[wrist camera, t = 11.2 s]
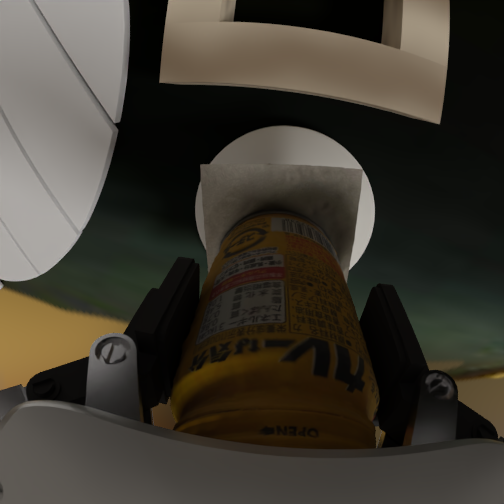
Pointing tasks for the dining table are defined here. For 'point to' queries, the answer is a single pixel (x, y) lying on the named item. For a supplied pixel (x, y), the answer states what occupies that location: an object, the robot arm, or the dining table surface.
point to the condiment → (277, 313)
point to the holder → (314, 55)
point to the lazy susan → (56, 123)
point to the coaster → (297, 153)
